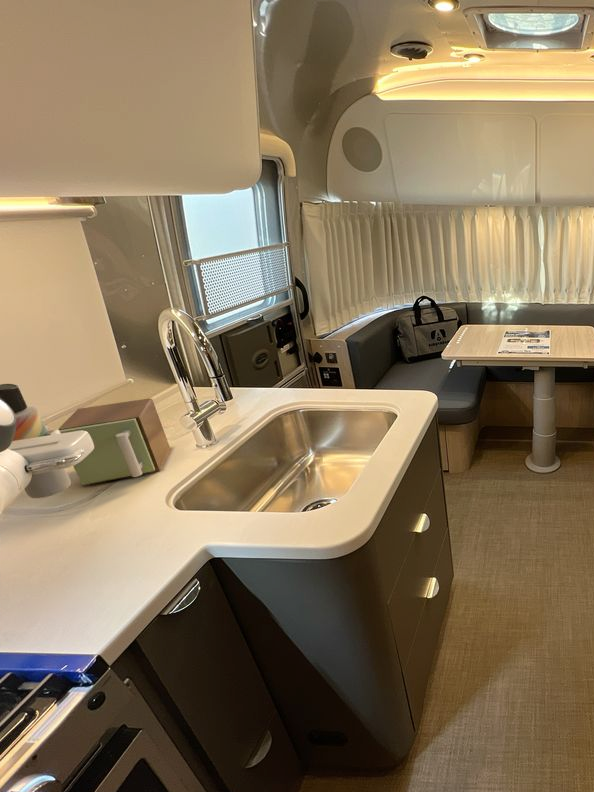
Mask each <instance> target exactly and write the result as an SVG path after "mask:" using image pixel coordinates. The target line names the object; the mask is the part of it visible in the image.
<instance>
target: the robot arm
mask: <svg viewBox="0 0 594 792" xmlns="http://www.w3.org/2000/svg"><path fill="white" fill-rule="evenodd" d="M16 424H17V423H16V415H15V413H14V411H13V410H12V409H11V407H10V406H9V405H8V404H7V403H6V402H4V401H3V400H2V399H1V398H0V516H1V515H2V513H3V512H4V510H5V509H6V508H7V507H9V505H12V503H13V502H14V501H15V499H17V498H18V497H19V495H20V494H22V492H23V491H25V488H26V486H27V485H28V484H29V483H30V481H31V478H32V474H37V473H43V472H48V471H54V470H60V469H65V470H66V469H68V468H72V467H74V465H76V464H78V463H79V462H80V461H82V460H83V459H84V458H85V457H87V456H88V455H89V454H90V453H91V452H92V451H93V449H94V444H93V441H92V439H91V437H90V435H89V433H88V432H86V431H82V430H81V431H74V432H68V433H60V431H59V430H58V429H52V430H47V432H46V433H45V434H44V436H42V437H35V438H29V439H23V440H16V441H13V438H14V435H15V431H16Z"/></svg>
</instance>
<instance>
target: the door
mask: <svg viewBox="0 0 594 792" xmlns="http://www.w3.org/2000/svg"><path fill="white" fill-rule="evenodd" d="M81 430H82V431H86V432H88V433H89V435H90V437H91V439H92V441H93V444H94V449H93V451H92V452H91V453H90V454H89V455H88V456H87V457H85V458H84V459H83V460H82V461H80V462H79V463H78V464H76V465H74V466H73V468H74V470H75V473H76V475H77V477H78V479H79V481H80V484H81V485H82V486H83V485H85V484H90V483H95V482H100V481H105V480H111V479H116V478H121V477H126V476H131V475H132V477H131V478H137V477H141V476H142V473H147V472H152V471H155V467H154V464H153V462H152V459H151V457H150V454H149V452H148V449H147V446H146V444H145V441H144V439H143V436H142V434H141V431H140V428H139V426H138V423H137V421H136V418H134V419H128V420H122V421H115V422H109V423H103V424H96V425H90V426H84V427H77V428H71V429H65V430H59V431H60V433H68V432H74V431H81Z"/></svg>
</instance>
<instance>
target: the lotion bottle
mask: <svg viewBox="0 0 594 792" xmlns="http://www.w3.org/2000/svg"><path fill="white" fill-rule="evenodd" d="M0 398H1V399H2V400H3V401H4V402H6V403H7V404H8V405H9V406H10V407H11V409H12V410H13V411H14V413H15V415H16V423H17V424H16V431H15V435H14V438H13V441H16V440H23V439H29V438H35V437H42V436H44V434H45V433H46V432H47V431H48V428H47V427H46V425H45V422H44V420H43V418H42V416H41V413H40V412H39V410H38V409H37V407H34V406H28V405H27V403H26V400H25V399H24V396H23V394H22V392H21V389H20V388H19V385H17V384H14V383H1V384H0ZM71 485H72V482H71V479H70V476H69V474H68V472H67V469H66V468H65V469H60V470H54V471H48V472H43V473H37V474H32V478H31V481H30V483H29V484H28V485H27V486H26V488H25V489H24V491H25V493H26V495H27V496H28V497H30V498H31V499H43V498H47V497H53V496H55V495H57V494H60V493H62V492H64V491H66V490H67V489H68V488H70V487H71Z"/></svg>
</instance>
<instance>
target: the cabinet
mask: <svg viewBox="0 0 594 792" xmlns="http://www.w3.org/2000/svg"><path fill="white" fill-rule="evenodd" d="M134 418H136V421H137V423H138V426H139V428H140V431H141V434H142V436H143V439H144V441H145V444H146V446H147V449H148V452H149V454H150V457H151V459H152V462H153V464H154V467H155V471H152V472H147V473H142V475H143V476H144V475H147V474H152V473H158V472H160V471H161V470H162V467H163V465H164V463H165V461H166V459H167V457H168V455H169V453H170V450H171V446H170V444H169V441H168V438H167V436H166V433H165V430H164V427H163V424H162V422H161V418H160V417H159V413H158V410H157V408H156V406H155V403H154V400H153V398H152V397H150V398H149V397H148V398H143V399H135V400H129V401H122V402H114V403H107V404H100V405H94V406H87V407H82V408H81V407H80V408H77V409H76V410H75V411H74V412H73V413H72V414H71V415H70V416H69V417H68V418H67V419H66V420H65V421H64V422H63V423H62V424H61V425H60V426H59V427H58V428H57V430H65V429H71V428H77V427H84V426H90V425H96V424H103V423H109V422H115V421H122V420H128V419H134ZM142 475H141V476H142ZM127 478H133V477H132V475H131V476H126V477H121V478H116V479H111V480H105V481H100V482H95V483H90V484H85V485H82V486H83V487H86V486H91V485H97V484H102V483H106V482H111V481H116V480H121V479H127Z"/></svg>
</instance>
